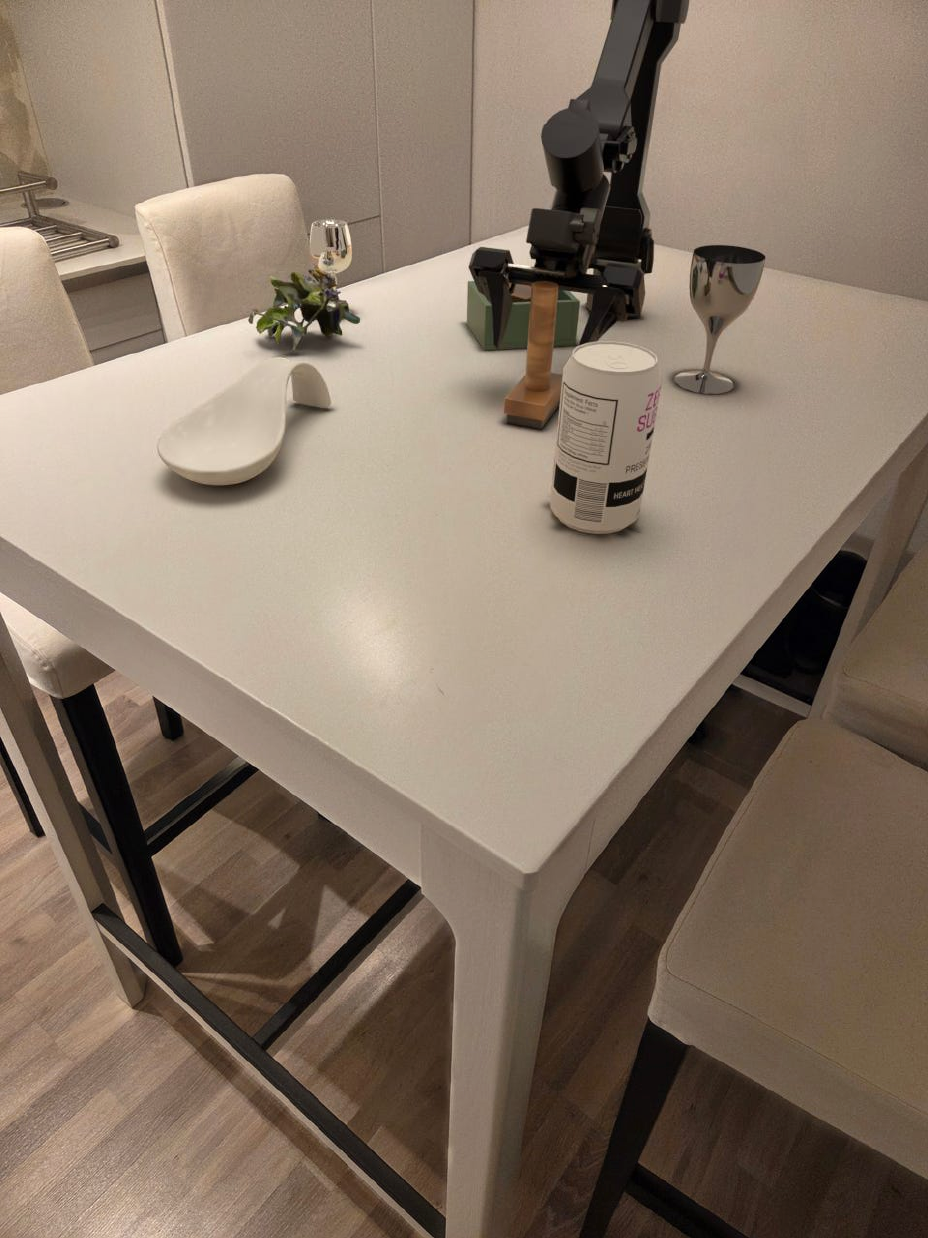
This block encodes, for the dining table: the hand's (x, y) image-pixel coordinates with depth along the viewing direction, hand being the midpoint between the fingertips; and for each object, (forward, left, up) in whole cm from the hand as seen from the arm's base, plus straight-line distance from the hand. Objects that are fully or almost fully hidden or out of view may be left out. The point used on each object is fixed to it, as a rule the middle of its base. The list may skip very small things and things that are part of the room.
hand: (536, 353), depth 93 cm
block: (-6, -26, -6) cm, 27 cm away
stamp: (-1, -1, -7) cm, 7 cm away
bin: (-6, -26, -7) cm, 28 cm away
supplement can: (0, +22, -7) cm, 23 cm away
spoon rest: (+30, +3, -7) cm, 31 cm away
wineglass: (+18, -38, -7) cm, 43 cm away
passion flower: (+23, -26, -7) cm, 36 cm away
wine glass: (-24, -6, -7) cm, 26 cm away
